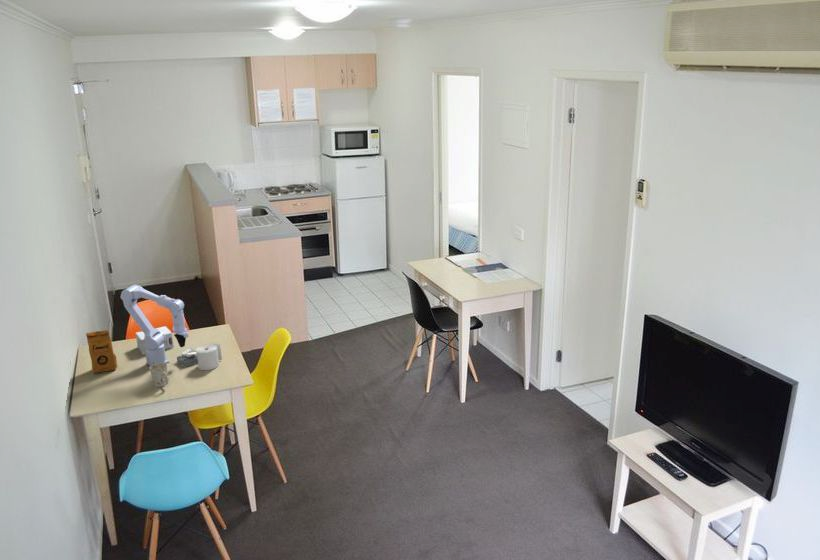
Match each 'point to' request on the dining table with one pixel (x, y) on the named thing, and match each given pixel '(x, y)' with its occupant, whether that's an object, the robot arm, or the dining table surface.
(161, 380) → the mug
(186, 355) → the rocker
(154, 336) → the robot arm
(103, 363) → the coffee package
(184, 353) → the rocker
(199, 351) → the toilet tissue
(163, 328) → the supplement box
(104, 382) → the dining table surface
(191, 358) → the switch housing
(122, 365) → the dining table surface
